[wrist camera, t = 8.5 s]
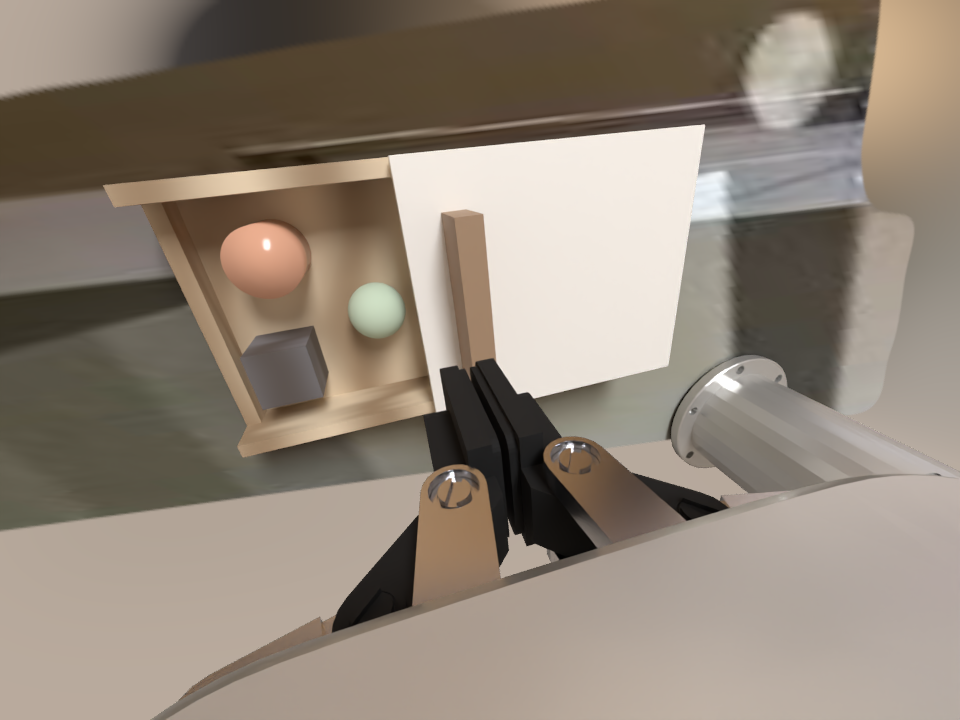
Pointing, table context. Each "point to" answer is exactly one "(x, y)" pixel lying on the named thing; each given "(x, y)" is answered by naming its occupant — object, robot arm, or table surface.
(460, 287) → the sliding lid
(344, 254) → the oak box
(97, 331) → the table surface
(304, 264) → the glossy peach egg
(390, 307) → the sage ball
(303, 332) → the charcoal block
